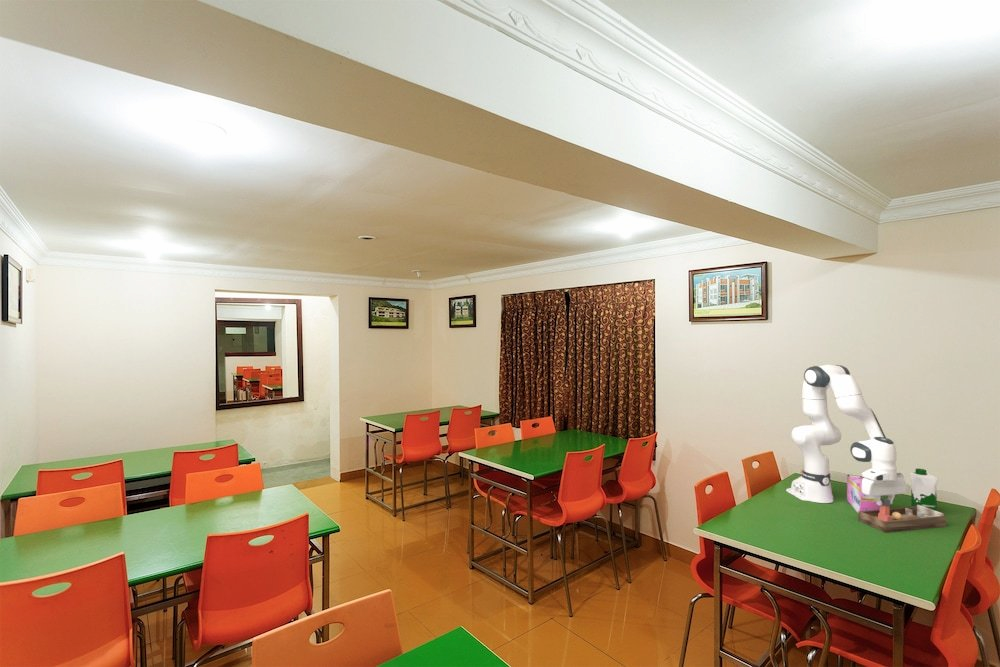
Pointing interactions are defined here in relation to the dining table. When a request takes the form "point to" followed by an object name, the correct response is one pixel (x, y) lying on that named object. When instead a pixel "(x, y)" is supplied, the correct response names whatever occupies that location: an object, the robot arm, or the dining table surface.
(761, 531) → the dining table surface
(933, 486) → the milk carton
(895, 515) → the ball
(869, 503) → the gum box
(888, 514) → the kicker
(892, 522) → the pitch
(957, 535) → the dining table surface
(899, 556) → the dining table surface
